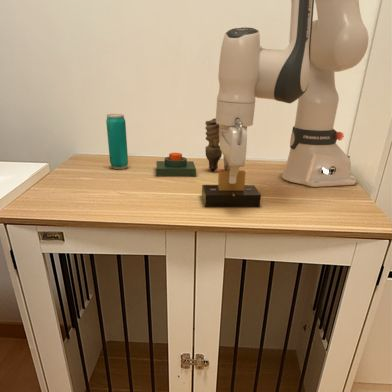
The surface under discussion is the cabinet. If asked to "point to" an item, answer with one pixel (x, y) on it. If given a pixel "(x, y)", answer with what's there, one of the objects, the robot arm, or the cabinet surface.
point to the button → (175, 156)
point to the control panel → (230, 197)
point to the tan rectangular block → (224, 183)
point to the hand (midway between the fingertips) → (229, 177)
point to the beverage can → (117, 141)
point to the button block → (176, 167)
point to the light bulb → (213, 144)
